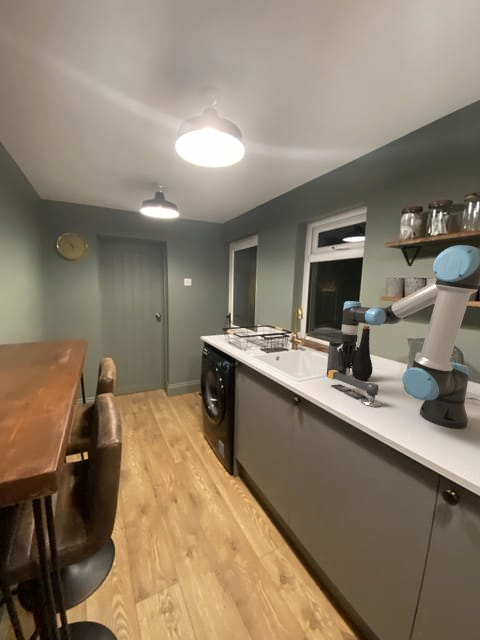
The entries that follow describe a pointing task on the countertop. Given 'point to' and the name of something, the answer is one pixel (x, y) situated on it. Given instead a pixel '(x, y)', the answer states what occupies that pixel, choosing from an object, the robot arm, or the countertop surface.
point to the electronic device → (333, 357)
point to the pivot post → (370, 401)
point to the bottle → (363, 358)
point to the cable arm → (354, 382)
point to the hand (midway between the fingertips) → (344, 380)
